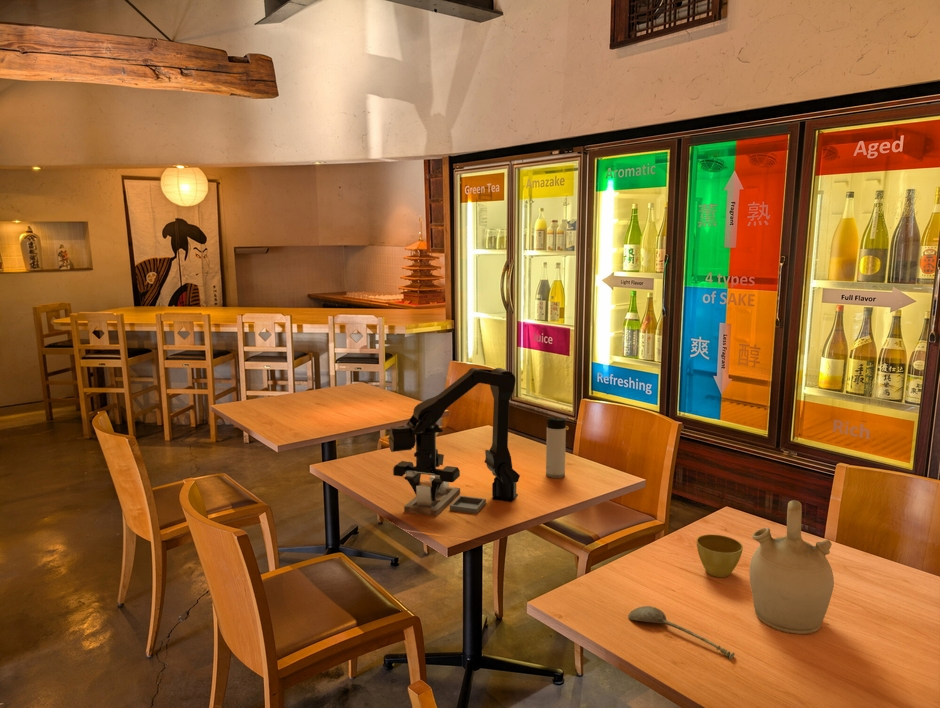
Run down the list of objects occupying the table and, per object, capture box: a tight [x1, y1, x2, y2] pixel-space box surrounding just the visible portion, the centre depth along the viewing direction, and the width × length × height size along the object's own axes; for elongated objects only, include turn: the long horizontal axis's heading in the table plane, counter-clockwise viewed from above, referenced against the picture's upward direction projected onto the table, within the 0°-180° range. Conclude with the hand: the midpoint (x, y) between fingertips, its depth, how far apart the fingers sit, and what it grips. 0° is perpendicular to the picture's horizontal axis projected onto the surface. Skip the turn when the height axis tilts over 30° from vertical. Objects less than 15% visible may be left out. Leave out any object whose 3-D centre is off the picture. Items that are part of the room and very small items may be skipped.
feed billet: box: [415, 480, 437, 508], centre depth 189 cm, size 4×4×7 cm
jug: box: [749, 499, 835, 635], centre depth 131 cm, size 15×16×25 cm
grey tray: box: [449, 495, 487, 515], centre depth 191 cm, size 8×8×2 cm
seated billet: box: [429, 475, 450, 496], centre depth 199 cm, size 4×4×7 cm
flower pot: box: [696, 534, 744, 578], centre depth 152 cm, size 10×10×7 cm
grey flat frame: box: [403, 486, 461, 517], centre depth 194 cm, size 10×19×2 cm, turn 160°
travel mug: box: [545, 416, 567, 479], centre depth 217 cm, size 6×7×20 cm
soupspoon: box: [627, 605, 736, 661], centre depth 128 cm, size 22×3×7 cm
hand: (426, 499), depth 189 cm, fingers closed on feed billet, 4 cm apart
